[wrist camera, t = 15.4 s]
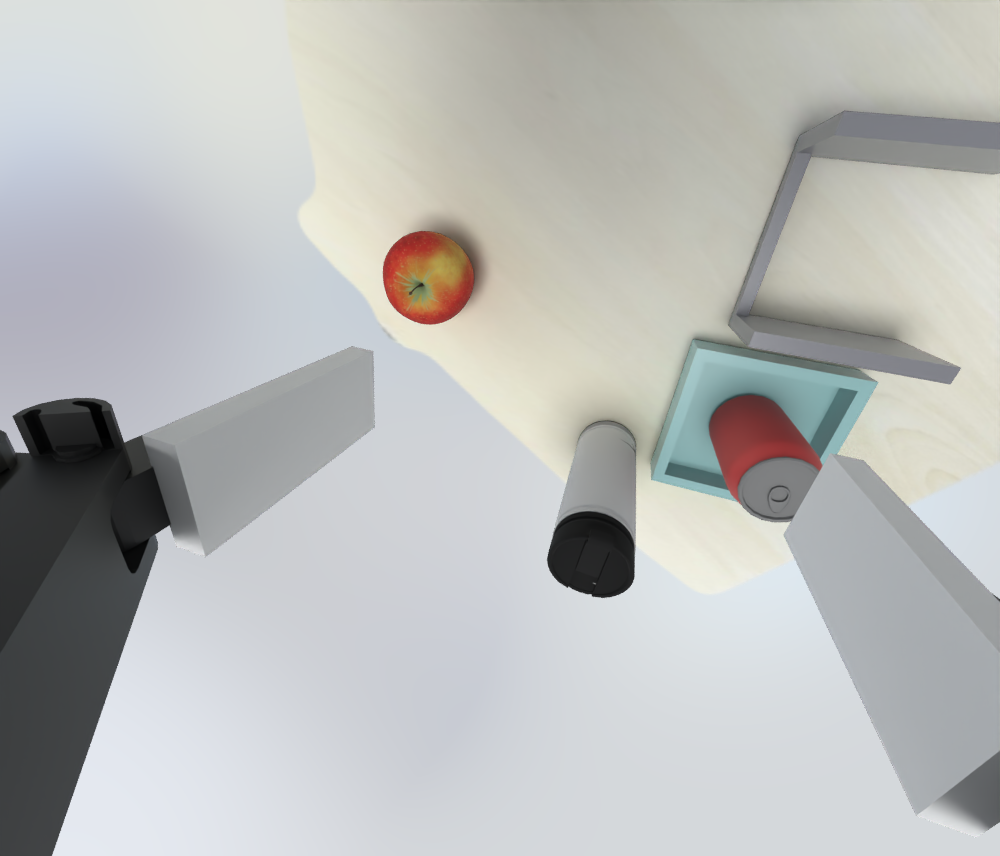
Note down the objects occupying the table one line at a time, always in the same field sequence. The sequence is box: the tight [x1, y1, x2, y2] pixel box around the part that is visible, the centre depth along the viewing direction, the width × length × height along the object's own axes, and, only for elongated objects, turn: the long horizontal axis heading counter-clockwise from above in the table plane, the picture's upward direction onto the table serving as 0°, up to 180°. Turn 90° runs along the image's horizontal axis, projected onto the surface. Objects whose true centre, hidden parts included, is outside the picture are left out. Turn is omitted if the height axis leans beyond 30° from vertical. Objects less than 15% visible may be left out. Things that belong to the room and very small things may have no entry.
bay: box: [728, 111, 1000, 384], centre depth 30 cm, size 14×13×8 cm
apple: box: [383, 231, 474, 324], centre depth 39 cm, size 8×8×10 cm
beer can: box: [709, 395, 823, 522], centre depth 36 cm, size 7×7×12 cm
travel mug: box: [547, 421, 636, 598], centre depth 38 cm, size 6×7×20 cm
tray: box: [651, 339, 878, 502], centre depth 40 cm, size 14×14×3 cm
